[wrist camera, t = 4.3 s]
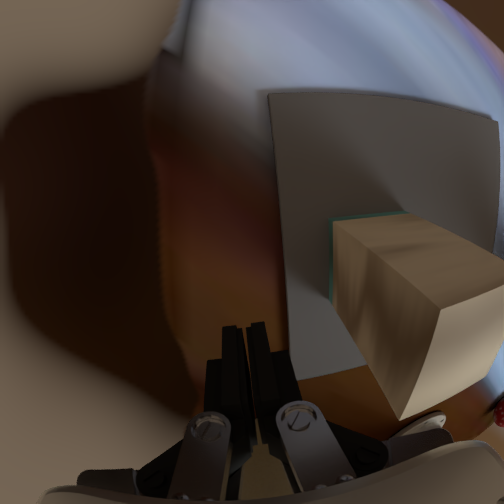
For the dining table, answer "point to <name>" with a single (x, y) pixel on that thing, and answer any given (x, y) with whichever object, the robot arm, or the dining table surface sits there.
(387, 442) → the robot arm
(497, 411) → the christmas ornament
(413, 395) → the maple block
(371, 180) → the rubber mat
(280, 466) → the plant pot
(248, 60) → the dining table surface
